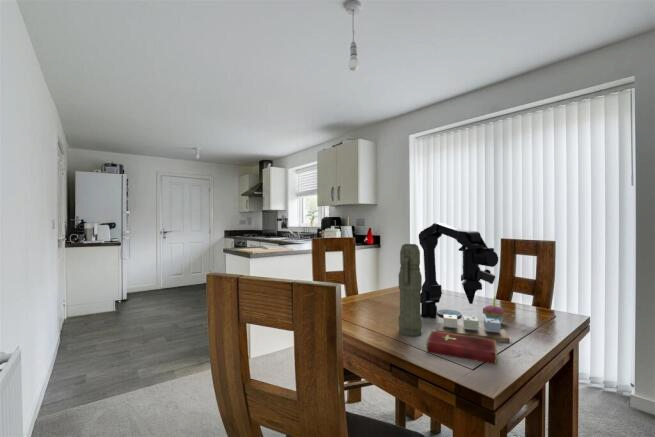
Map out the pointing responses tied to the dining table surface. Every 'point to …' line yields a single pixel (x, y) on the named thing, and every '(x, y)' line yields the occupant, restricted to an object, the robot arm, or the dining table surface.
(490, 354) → the hardcover book
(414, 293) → the moai stone figurine
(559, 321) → the dining table surface
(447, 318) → the tile one
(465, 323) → the tile two
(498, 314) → the cupcake
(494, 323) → the tile three
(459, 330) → the wooden plank tray
